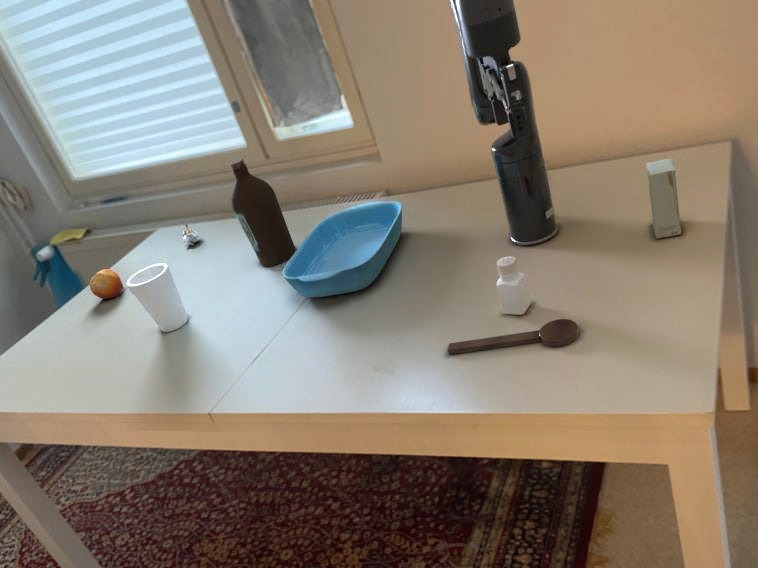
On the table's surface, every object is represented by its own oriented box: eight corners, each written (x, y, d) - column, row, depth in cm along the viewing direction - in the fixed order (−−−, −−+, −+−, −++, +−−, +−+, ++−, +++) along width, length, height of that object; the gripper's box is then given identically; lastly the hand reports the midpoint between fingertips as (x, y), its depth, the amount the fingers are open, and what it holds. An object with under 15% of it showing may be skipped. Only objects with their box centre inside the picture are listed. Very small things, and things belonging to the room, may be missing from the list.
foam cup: (158, 340, 154) (129, 290, 147) (152, 326, 162) (123, 278, 155) (198, 320, 156) (171, 270, 149) (190, 307, 164) (163, 259, 157)
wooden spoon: (447, 362, 114) (445, 356, 113) (451, 341, 118) (449, 335, 118) (579, 344, 107) (578, 337, 106) (578, 322, 112) (577, 316, 111)
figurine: (192, 247, 199) (182, 228, 196) (182, 247, 202) (172, 228, 199) (204, 238, 203) (195, 219, 199) (194, 238, 205) (185, 220, 202)
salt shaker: (523, 316, 118) (512, 267, 113) (502, 315, 120) (490, 267, 115) (533, 303, 120) (521, 254, 115) (512, 302, 123) (500, 254, 118)
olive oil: (292, 242, 179) (252, 148, 166) (303, 254, 170) (262, 156, 157) (254, 259, 177) (211, 166, 164) (263, 272, 168) (218, 174, 155)
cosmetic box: (681, 235, 124) (676, 170, 117) (655, 239, 125) (648, 175, 119) (677, 219, 129) (671, 156, 122) (652, 224, 130) (645, 161, 124)
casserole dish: (334, 234, 174) (324, 208, 170) (418, 219, 166) (410, 191, 162) (280, 316, 146) (267, 286, 142) (378, 302, 138) (367, 270, 134)
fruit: (134, 278, 188) (111, 263, 182) (125, 304, 186) (101, 291, 179) (114, 279, 192) (90, 265, 186) (105, 305, 190) (80, 292, 183)
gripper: (529, 8, 89) (552, 132, 97) (499, 0, 101) (521, 111, 109) (473, 28, 89) (500, 150, 98) (449, 18, 101) (476, 127, 110)
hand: (511, 129), depth 103 cm, fingers open, 8 cm apart
